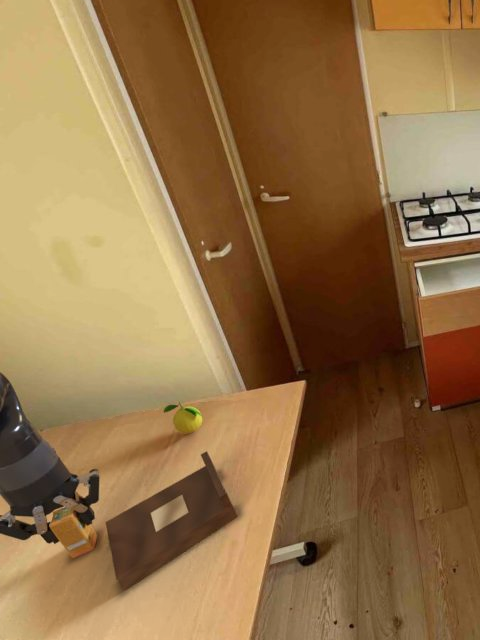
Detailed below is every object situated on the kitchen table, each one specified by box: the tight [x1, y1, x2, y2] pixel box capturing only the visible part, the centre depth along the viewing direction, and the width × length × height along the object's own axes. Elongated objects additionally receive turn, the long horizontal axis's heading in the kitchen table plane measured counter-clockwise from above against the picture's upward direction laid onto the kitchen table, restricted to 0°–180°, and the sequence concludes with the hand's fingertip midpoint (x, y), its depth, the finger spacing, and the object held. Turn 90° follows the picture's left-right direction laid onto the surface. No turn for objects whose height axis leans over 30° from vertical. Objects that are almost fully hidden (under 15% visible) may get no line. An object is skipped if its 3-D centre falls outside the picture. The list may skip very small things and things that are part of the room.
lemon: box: [163, 400, 203, 434], centre depth 103 cm, size 7×6×10 cm
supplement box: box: [49, 506, 98, 559], centre depth 79 cm, size 3×3×10 cm
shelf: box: [105, 451, 239, 591], centre depth 83 cm, size 18×14×8 cm
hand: (73, 529), depth 79 cm, fingers closed on supplement box, 3 cm apart
